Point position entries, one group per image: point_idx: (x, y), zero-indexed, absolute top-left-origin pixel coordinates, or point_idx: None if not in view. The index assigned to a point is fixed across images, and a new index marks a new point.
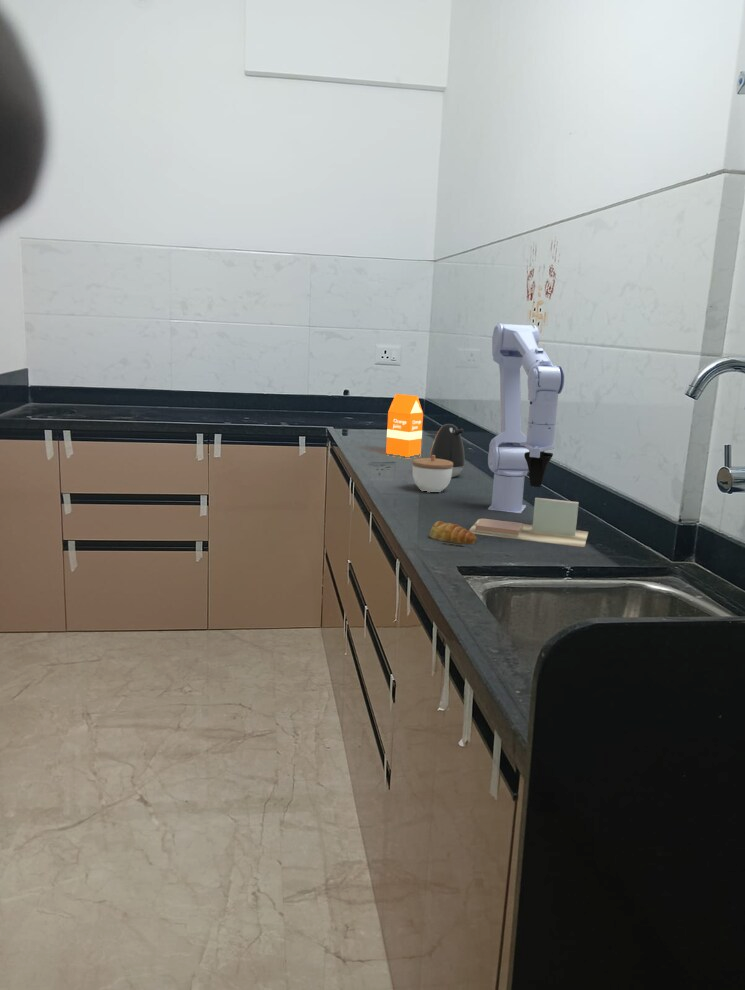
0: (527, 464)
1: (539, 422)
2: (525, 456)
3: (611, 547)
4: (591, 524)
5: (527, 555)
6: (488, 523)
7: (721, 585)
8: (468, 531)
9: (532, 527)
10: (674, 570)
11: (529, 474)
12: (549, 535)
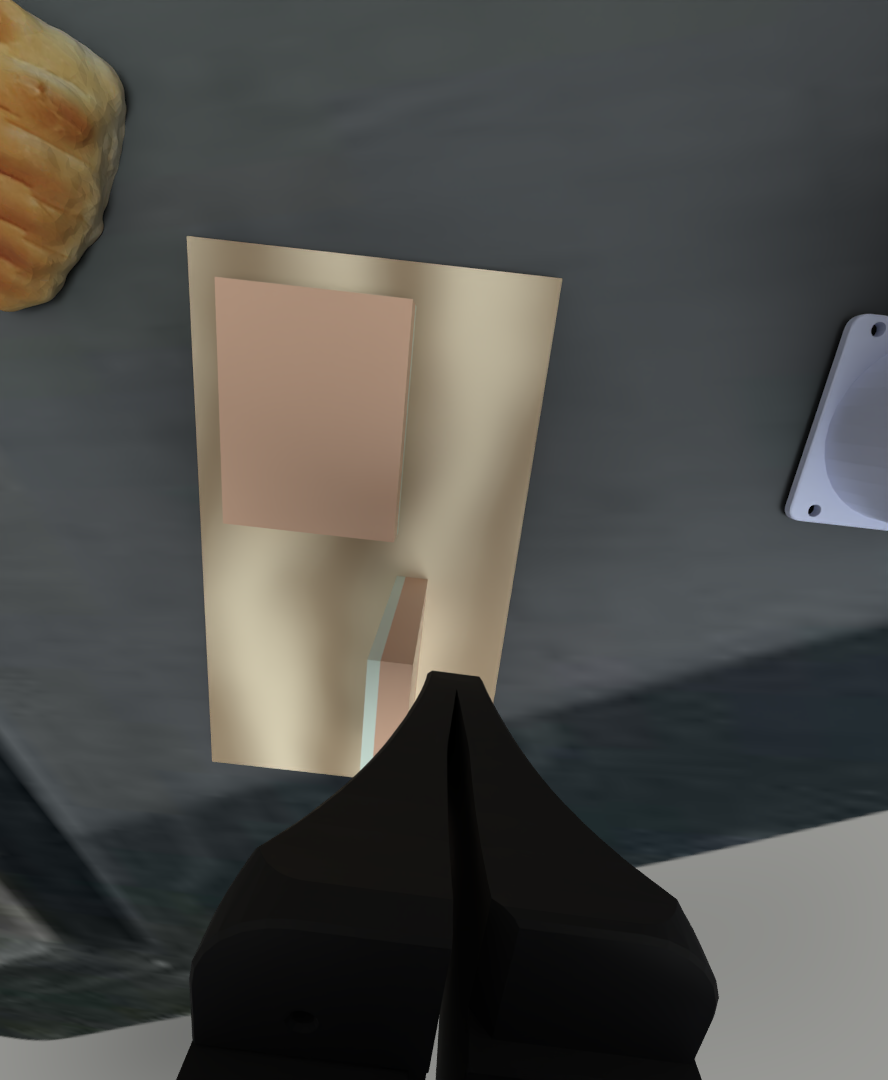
0: (342, 789)
1: None
2: (234, 882)
3: None
4: (668, 804)
5: (11, 554)
6: (298, 352)
7: (45, 1022)
8: (3, 245)
9: (395, 582)
10: (124, 955)
11: (402, 722)
12: (337, 647)
